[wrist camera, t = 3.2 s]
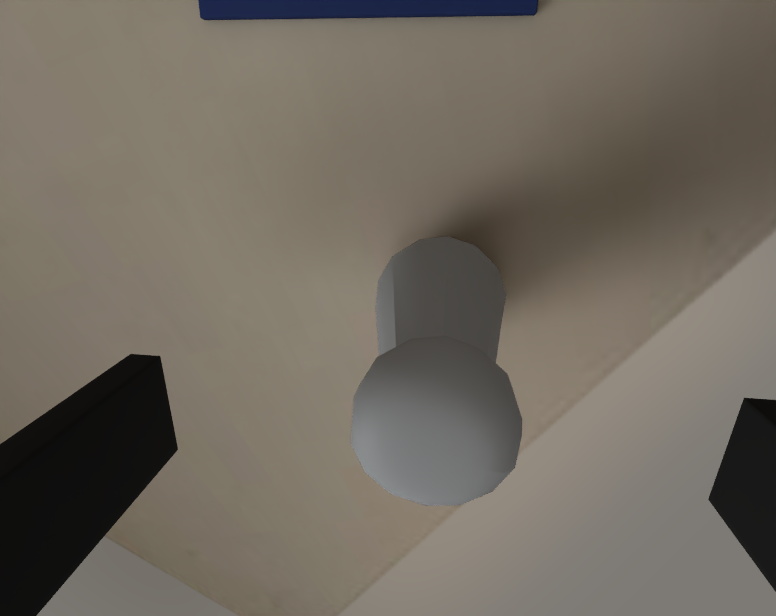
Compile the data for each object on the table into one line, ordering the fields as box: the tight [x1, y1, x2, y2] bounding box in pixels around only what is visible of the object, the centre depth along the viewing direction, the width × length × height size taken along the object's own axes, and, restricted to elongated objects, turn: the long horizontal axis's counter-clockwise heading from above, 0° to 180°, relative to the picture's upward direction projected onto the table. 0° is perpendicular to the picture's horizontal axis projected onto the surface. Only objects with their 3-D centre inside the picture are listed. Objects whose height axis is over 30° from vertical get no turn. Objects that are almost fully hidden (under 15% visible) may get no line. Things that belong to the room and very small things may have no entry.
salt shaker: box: [351, 236, 522, 506], centre depth 16 cm, size 6×6×13 cm
